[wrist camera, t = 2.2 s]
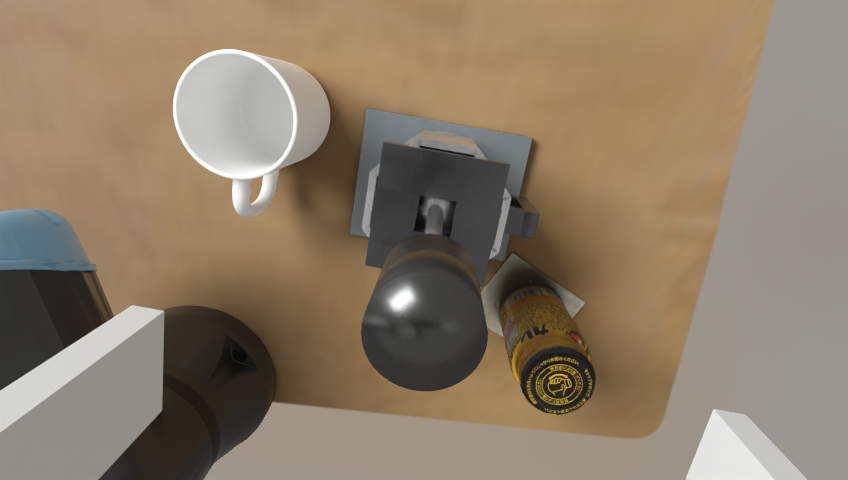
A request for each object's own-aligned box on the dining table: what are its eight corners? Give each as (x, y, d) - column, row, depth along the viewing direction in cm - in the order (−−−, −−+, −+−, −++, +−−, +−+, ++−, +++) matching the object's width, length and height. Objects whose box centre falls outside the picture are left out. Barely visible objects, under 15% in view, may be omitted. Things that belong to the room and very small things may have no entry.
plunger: (377, 248, 34) (300, 412, 16) (392, 147, 32) (324, 206, 14) (476, 266, 34) (511, 449, 16) (498, 166, 32) (564, 248, 14)
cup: (337, 71, 40) (303, 61, 31) (322, 210, 44) (287, 241, 34) (239, 53, 40) (173, 38, 30) (231, 194, 44) (170, 221, 34)
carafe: (375, 230, 43) (351, 272, 32) (391, 121, 40) (372, 128, 30) (506, 254, 43) (526, 303, 33) (531, 146, 40) (562, 162, 30)
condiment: (536, 358, 47) (565, 442, 35) (465, 311, 46) (471, 382, 34) (585, 301, 45) (633, 370, 33) (512, 251, 44) (535, 304, 32)
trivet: (351, 231, 44) (349, 234, 43) (367, 108, 41) (366, 108, 40) (503, 258, 44) (503, 261, 43) (530, 137, 41) (532, 137, 40)
